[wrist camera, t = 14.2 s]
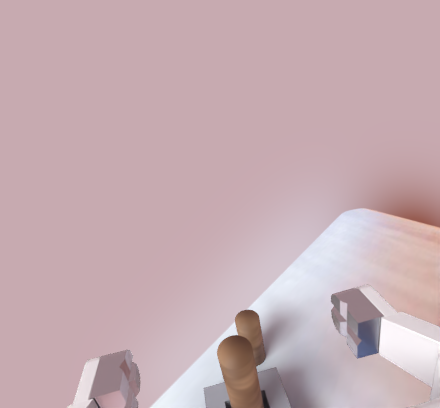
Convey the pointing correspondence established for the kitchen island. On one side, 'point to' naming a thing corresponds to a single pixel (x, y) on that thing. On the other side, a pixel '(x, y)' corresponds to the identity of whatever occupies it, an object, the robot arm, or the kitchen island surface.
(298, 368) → the kitchen island surface
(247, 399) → the long dowel
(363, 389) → the kitchen island surface
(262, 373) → the socket block
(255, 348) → the short dowel
